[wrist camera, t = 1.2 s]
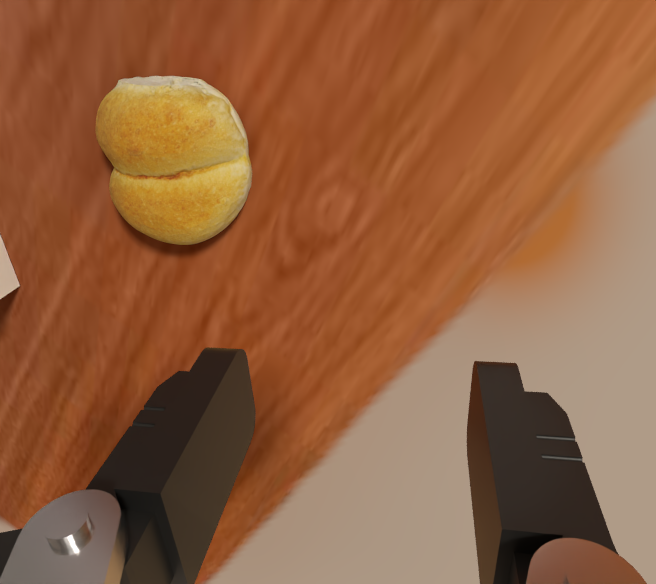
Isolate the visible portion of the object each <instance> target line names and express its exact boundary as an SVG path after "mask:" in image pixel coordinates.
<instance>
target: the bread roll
mask: <svg viewBox="0 0 656 584" xmlns="http://www.w3.org/2000/svg"><path fill="white" fill-rule="evenodd" d="M96 137H97V141H98V143H99V145H100V147H101V149H102V150H103V152H104V153H105V155H106V156H107V158H108V159H109V160H110V162H111V163H112V164H113V166H114V169H113V172H112V174H111V178H110V184H109V191H110V195H111V199H112V201H113V203H114V205H115V207H116V208H117V210H118V212H119V213H120V214H121V216H122V217H123V218H124V219H125V220H126V221H127V222H128V223H129V224H130V225H131V226H132V227H134V228H135V229H137V230H138V231H140V232H142V233H144V234H145V235H147V236H149V237H152V238H154V239H156V240H159V241H162V242H166V243H171V244H178V245H189V244H196V243H200V242H202V241H205V240H207V239H210V238H212V237H213V236H215V235H217V234H218V233H220V232H221V231H222V230H224V229H225V228H226V227H227V226H228V225H229V224H230V223H231V222H232V221H233V220H234V219H235V217H237V215H238V213H239V212H240V210H241V209H242V207H243V205H244V203H245V201H246V200H247V196H248V192H249V190H250V188H251V182H252V181H251V179H252V168H251V162H250V158H249V154H248V141H247V136H246V132H245V129H244V127H243V124H242V122H241V120H240V118H239V116H238V114H237V112H236V111H235V109H234V108H233V106H232V105H231V103H230V101H229V100H228V99H227V98H226V97H225V96H224V95H223V94H222V93H221V92H219V91H218V90H217V89H215V88H214V87H212V86H211V85H208V84H207V83H206V82H204V81H203V80H201V79H195V78H188V77H179V76H165V77H161V76H150V77H145V78H142V77H134V78H130V79H121V80H118V84H117V86H116V87H115V88H114V89H113V90H112V91H111V92H110V93H108V94H107V95H106V96H105V98H104V99H103V100H102V102H101V104H100V107H99V109H98V112H97V117H96Z"/></svg>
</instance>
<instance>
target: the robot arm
mask: <svg viewBox="0 0 656 584" xmlns="http://www.w3.org/2000/svg"><path fill="white" fill-rule="evenodd" d="M254 427H255V405H254V398H253V392H252V386H251V379H250V373H249V367H248V360H247V356H246V353H245V351H244V350H243V349H227V348H205V349H204V350H203V351H202V353H201V354H200V356H199V357H198V359H197V360H196V362H195V363H194V365H193V366H192V368H191V370H190V371H189V372H187V371H178V372H177V373H176V374H174V375H173V376H172V377H170V378H169V379H168V380H166V381H165V382H163V383H162V384H161V385H159V386H158V387H157V388H156V390H155V391H154V393H153V394H152V396H151V397H150V398H149V400H148V401H147V403H146V404H145V406H144V410H141V411H140V413H139V414H138V415H137V417H136V418H135V420H134V421H133V426H130V427H129V428H128V430H127V431H126V433H125V434H124V435H123V437H122V438H121V440H120V441H119V443H118V444H117V445H116V447H115V448H114V450H113V451H112V452H111V454H110V455H109V457H108V458H107V460H106V461H105V462H104V464H103V465H102V467H101V468H100V470H99V471H98V472H97V474H96V475H95V477H94V478H93V480H92V481H91V482H90V484H89V485H88V487H87V488H86V489H85V490H80V491H76V492H72V493H69V494H66V495H64V496H62V497H59V498H57V499H56V500H54V501H52V502H50V503H49V504H47V505H46V506H44V507H43V508H42V509H40V510H39V511H38V512H37V513H36V514H35V515H34V516H33V517H32V518H31V519H30V520H29V521H28V522H27V523H26V525H25V526H24V528H23V529H18V530H13V531H8V532H3V533H0V584H194V583H195V580H196V578H197V575H198V573H199V570H200V568H201V565H202V563H203V560H204V558H205V555H206V553H207V550H208V548H209V545H210V543H211V540H212V538H213V535H214V533H215V530H216V528H217V525H218V523H219V520H220V518H221V515H222V512H223V510H224V507H225V505H226V502H227V500H228V497H229V495H230V492H231V490H232V487H233V485H234V482H235V480H236V477H237V475H238V472H239V470H240V467H241V465H242V462H243V460H244V457H245V455H246V452H247V450H248V447H249V445H250V442H251V439H252V436H253V432H254ZM467 457H468V467H469V477H470V487H471V497H472V507H473V517H474V527H475V537H476V546H477V557H478V566H479V577H480V584H647V583H646V582H645V581H644V579H643V578H642V576H641V575H640V574H639V573H638V572H637V571H636V570H635V568H634V567H633V566H632V565H630V564H629V563H628V562H627V561H626V560H625V559H624V558H622V557H621V556H619V554H618V553H617V551H616V549H615V547H614V544H613V542H612V539H611V536H610V534H609V531H608V528H607V525H606V522H605V519H604V517H603V514H602V511H601V508H600V505H599V503H598V500H597V497H596V495H595V491H594V489H593V486H592V483H591V480H590V478H589V475H588V472H587V469H586V466H585V463H583V462H582V455H581V452H580V449H579V447H578V444H577V442H575V435H574V432H573V430H572V427H571V424H570V421H569V418H568V416H567V414H566V412H565V411H564V410H563V409H562V408H561V407H560V406H559V405H558V404H557V403H556V402H555V401H554V399H552V397H551V396H550V395H549V394H548V393H541V392H524V388H523V384H522V380H521V377H520V373H519V369H518V366H517V364H516V363H502V362H479V361H475V362H474V365H473V373H472V383H471V392H470V403H469V414H468V424H467Z"/></svg>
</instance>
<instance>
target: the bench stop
mask: <svg viewBox="0 0 656 584" xmlns="http://www.w3.org/2000/svg"><path fill="white" fill-rule="evenodd" d="M19 286H20V285H19V282H18V279H17V277H16V274H15V271H14V269H13V266H12V264H11V261H10V258H9V256H8V253H7V251H6V248H5V245H4V243H3V240H2V238H1V235H0V299H1V298H3V297H4V296H6V295H7V294H9V293H10V292H12V291H13V290H14V289H16V288H17V287H19Z"/></svg>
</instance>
